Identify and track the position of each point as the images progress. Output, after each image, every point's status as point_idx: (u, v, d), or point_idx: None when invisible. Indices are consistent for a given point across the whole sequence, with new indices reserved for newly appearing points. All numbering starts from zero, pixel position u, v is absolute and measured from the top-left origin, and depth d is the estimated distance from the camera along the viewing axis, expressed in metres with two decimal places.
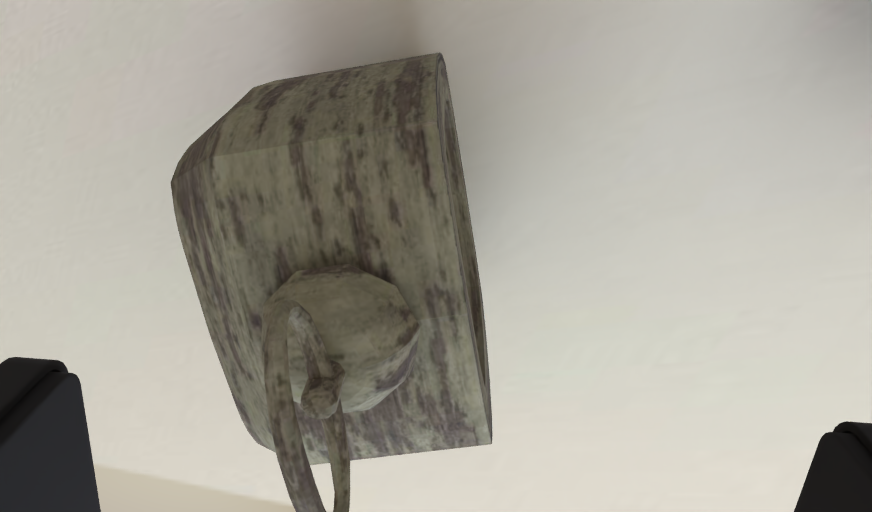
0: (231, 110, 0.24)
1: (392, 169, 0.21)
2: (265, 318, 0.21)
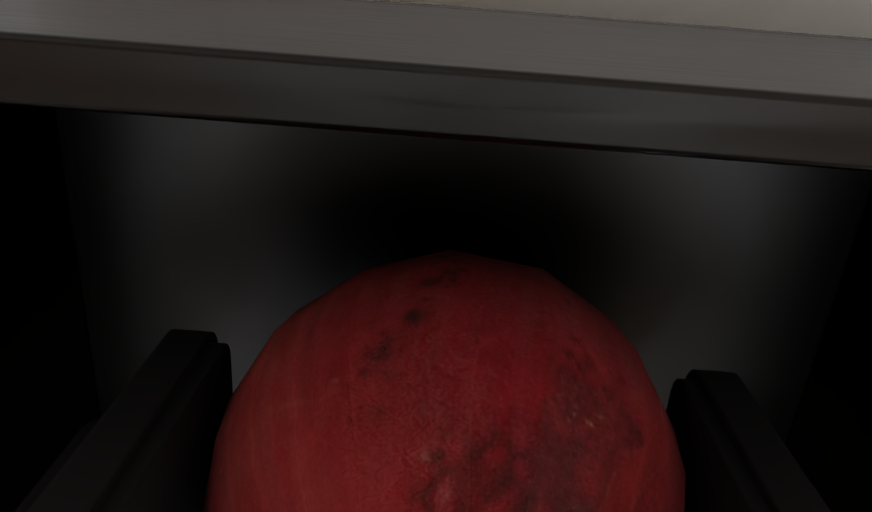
0: None
1: None
2: None
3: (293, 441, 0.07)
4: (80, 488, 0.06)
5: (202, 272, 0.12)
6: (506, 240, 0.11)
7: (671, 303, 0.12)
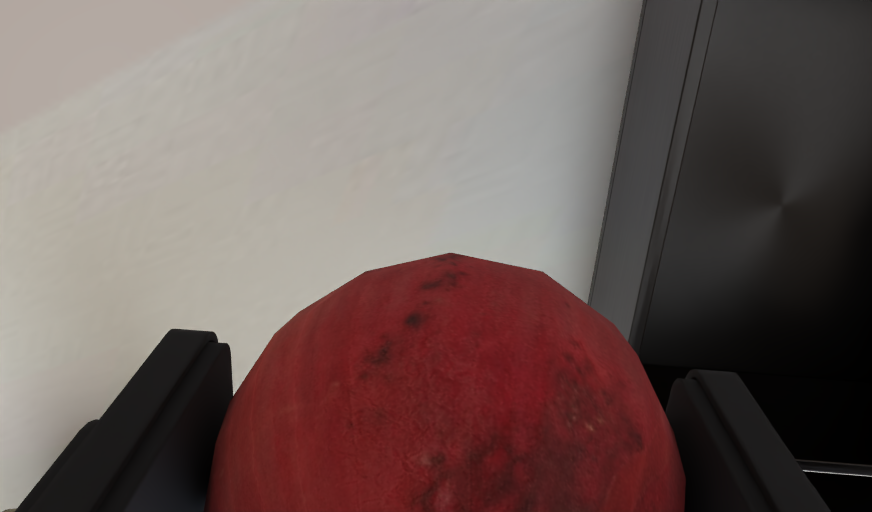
0: None
1: None
2: None
3: (293, 445, 0.07)
4: (80, 488, 0.06)
5: (697, 100, 0.27)
6: (839, 84, 0.26)
7: None
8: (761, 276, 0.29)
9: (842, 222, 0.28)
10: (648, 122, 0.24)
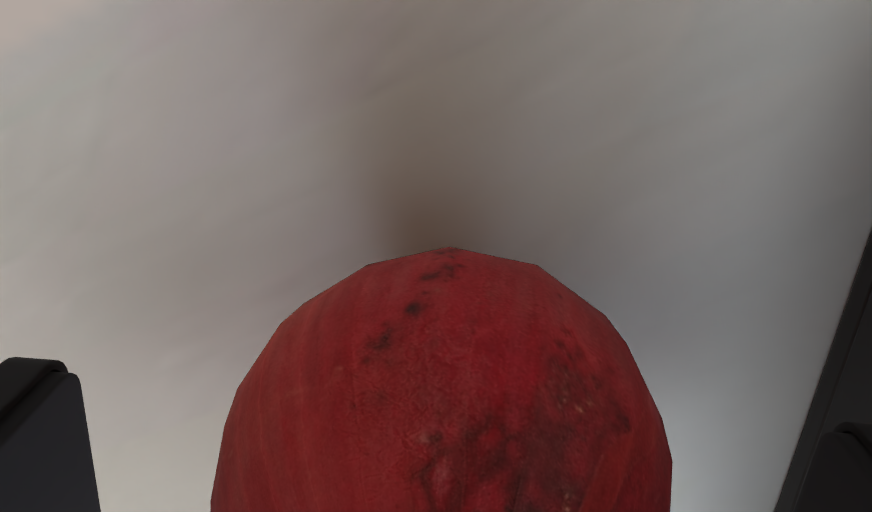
0: None
1: None
2: None
3: (299, 426, 0.07)
4: None
5: None
6: None
7: None
8: None
9: None
10: None
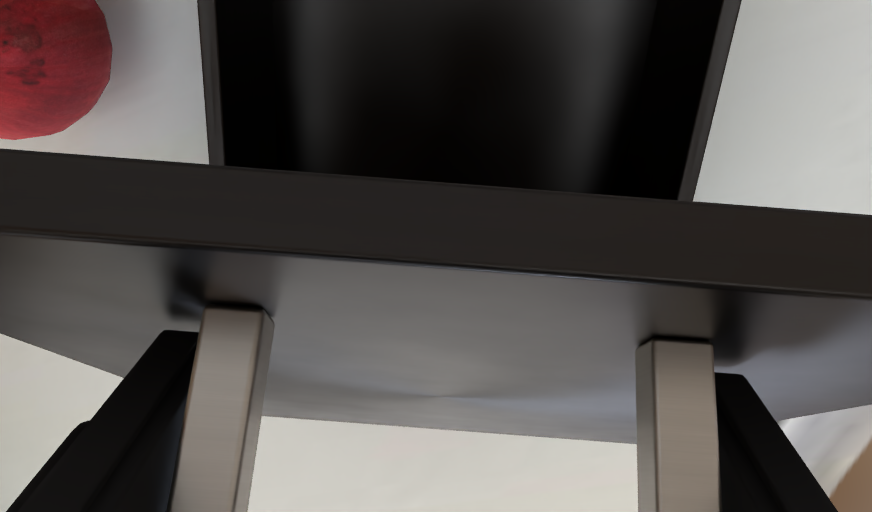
0: None
1: None
2: None
3: None
4: (69, 490, 0.06)
5: None
6: None
7: (574, 7, 0.23)
8: None
9: (524, 135, 0.25)
10: None
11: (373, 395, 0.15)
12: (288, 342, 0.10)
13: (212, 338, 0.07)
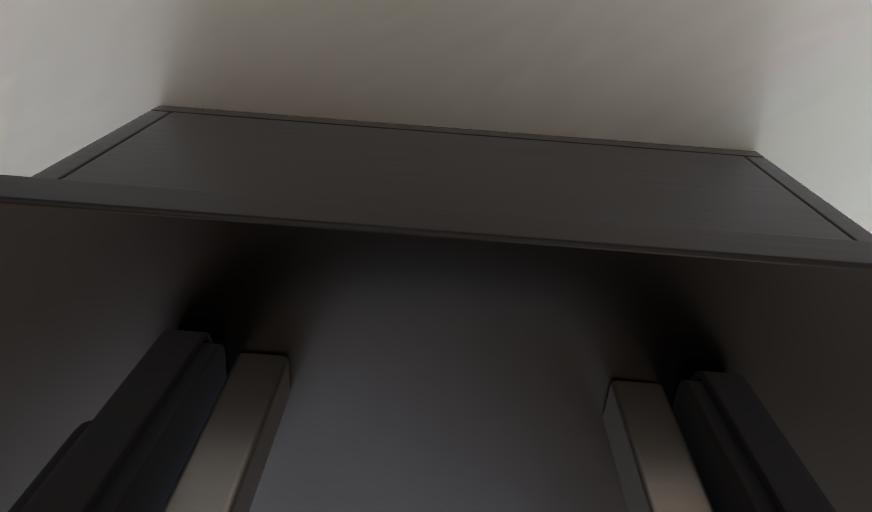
0: None
1: None
2: None
3: None
4: (72, 489, 0.06)
5: None
6: None
7: None
8: None
9: None
10: None
11: None
12: (286, 468, 0.10)
13: (242, 369, 0.09)
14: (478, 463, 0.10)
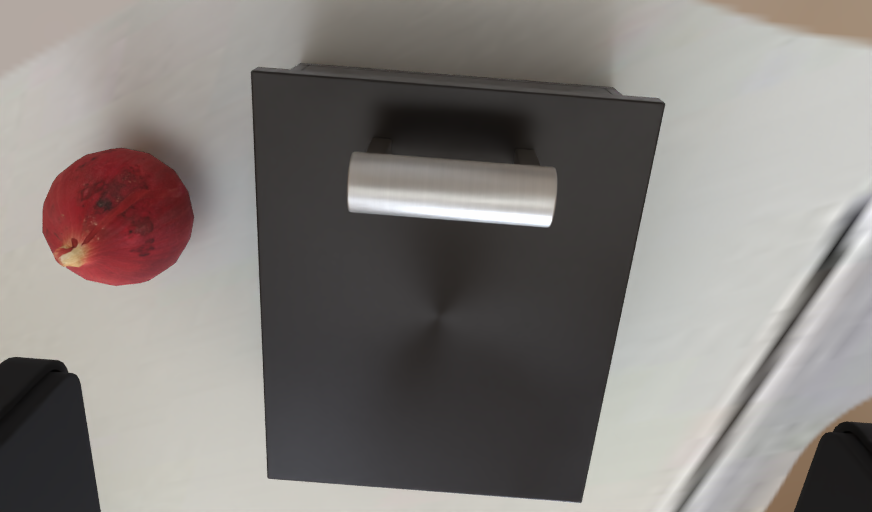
0: None
1: None
2: None
3: (58, 185, 0.27)
4: None
5: None
6: None
7: None
8: None
9: None
10: None
11: (402, 330, 0.27)
12: None
13: (375, 140, 0.24)
14: None
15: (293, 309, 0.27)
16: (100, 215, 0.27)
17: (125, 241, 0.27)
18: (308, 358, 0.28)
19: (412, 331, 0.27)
